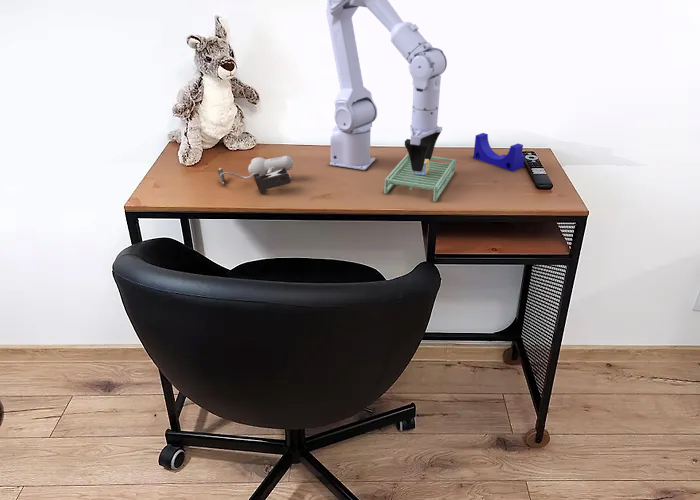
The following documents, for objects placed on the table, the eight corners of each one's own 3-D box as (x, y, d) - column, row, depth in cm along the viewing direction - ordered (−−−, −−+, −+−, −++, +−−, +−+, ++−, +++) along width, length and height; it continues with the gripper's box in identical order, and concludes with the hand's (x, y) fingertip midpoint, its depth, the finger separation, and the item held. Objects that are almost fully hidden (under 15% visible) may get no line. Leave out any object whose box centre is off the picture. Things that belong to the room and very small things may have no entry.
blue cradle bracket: (523, 166, 157) (526, 143, 154) (512, 171, 154) (515, 147, 151) (484, 153, 164) (486, 131, 161) (473, 157, 162) (475, 135, 159)
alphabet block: (412, 174, 145) (412, 161, 144) (416, 169, 148) (416, 157, 146) (425, 176, 144) (425, 163, 143) (428, 171, 147) (429, 159, 146)
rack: (435, 202, 138) (437, 187, 136) (383, 193, 142) (384, 179, 140) (454, 172, 153) (455, 159, 151) (406, 166, 157) (407, 152, 155)
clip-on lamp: (216, 204, 143) (292, 190, 141) (206, 180, 140) (284, 165, 137) (226, 180, 153) (297, 166, 150) (217, 156, 149) (290, 142, 147)
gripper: (434, 118, 131) (430, 178, 138) (450, 100, 143) (446, 156, 150) (402, 114, 134) (399, 174, 140) (420, 96, 145) (417, 152, 152)
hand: (421, 165), depth 145 cm, fingers open, 7 cm apart
